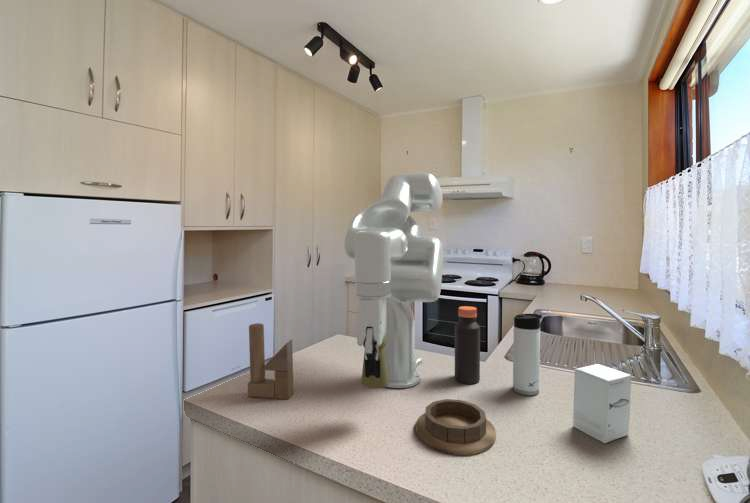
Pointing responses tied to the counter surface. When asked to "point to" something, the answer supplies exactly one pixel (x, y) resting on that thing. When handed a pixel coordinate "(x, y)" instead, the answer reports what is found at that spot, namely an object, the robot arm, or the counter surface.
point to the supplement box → (602, 402)
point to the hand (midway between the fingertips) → (374, 371)
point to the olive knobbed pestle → (383, 380)
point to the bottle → (467, 346)
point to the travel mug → (526, 354)
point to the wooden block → (269, 368)
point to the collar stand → (455, 428)
